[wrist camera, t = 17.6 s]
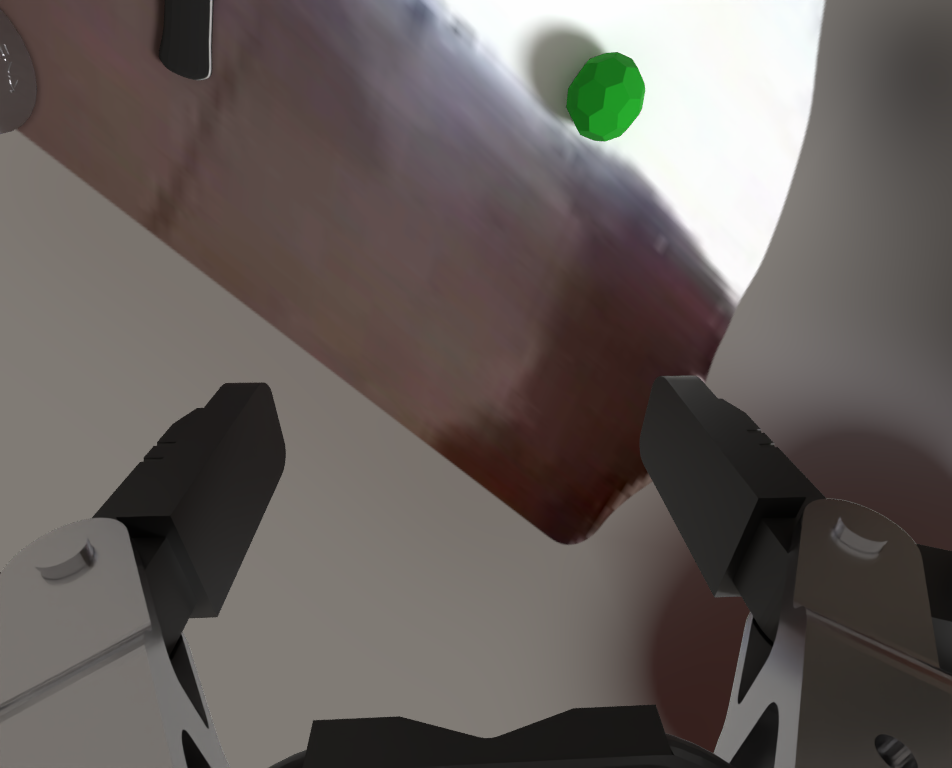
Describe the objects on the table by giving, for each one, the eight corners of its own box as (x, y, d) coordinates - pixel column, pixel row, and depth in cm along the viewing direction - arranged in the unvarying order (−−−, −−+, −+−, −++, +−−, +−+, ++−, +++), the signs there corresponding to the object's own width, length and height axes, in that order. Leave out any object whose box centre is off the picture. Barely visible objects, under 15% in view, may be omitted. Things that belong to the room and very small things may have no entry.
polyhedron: (595, 37, 31) (617, 28, 27) (645, 90, 33) (672, 88, 29) (546, 107, 33) (559, 108, 29) (595, 153, 35) (614, 160, 31)
